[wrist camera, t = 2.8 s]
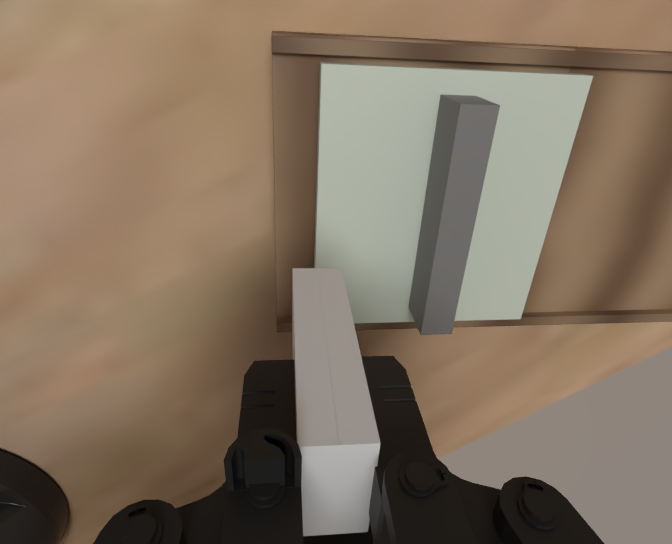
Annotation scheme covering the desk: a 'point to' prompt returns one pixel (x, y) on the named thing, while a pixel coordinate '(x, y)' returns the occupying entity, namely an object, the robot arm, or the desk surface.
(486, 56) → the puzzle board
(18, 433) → the desk surface
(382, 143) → the lid
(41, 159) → the desk surface
